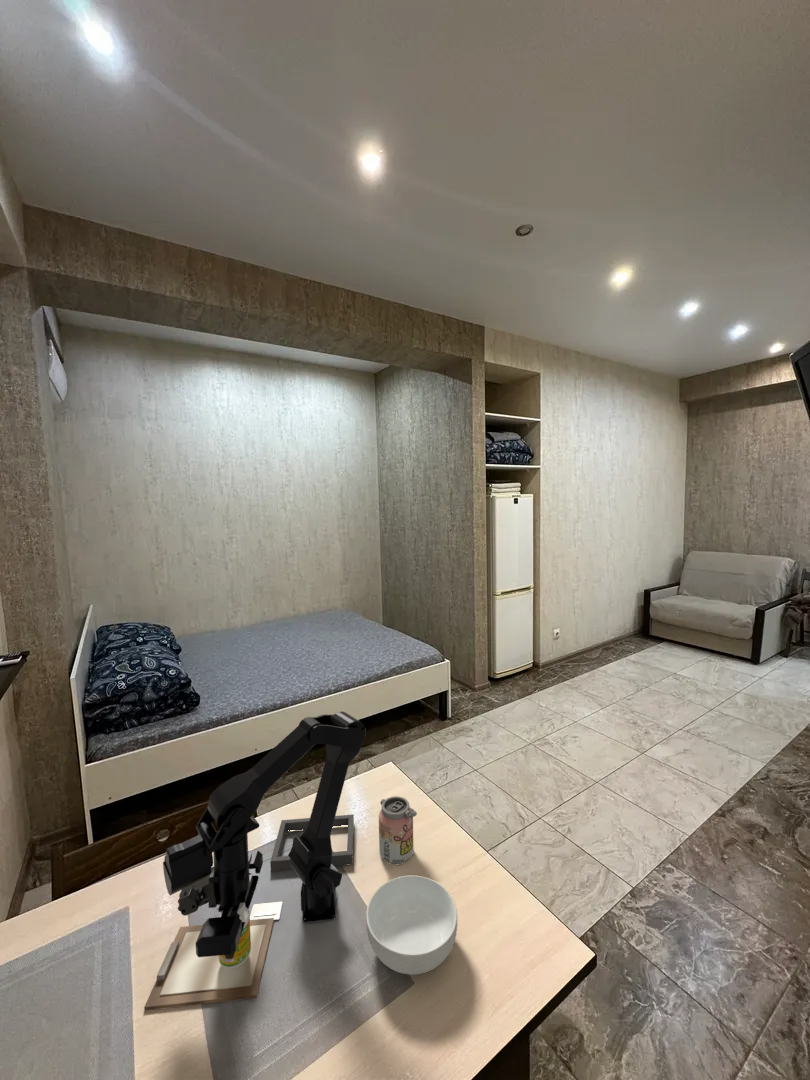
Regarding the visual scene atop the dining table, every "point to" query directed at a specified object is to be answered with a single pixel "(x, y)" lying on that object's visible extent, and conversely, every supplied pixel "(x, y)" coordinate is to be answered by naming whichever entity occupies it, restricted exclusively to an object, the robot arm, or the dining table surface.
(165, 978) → the clipboard
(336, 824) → the empty rectangular frame
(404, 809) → the beverage can
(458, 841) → the dining table surface
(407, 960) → the cereal bowl
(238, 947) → the supplement bottle
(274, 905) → the letter card
